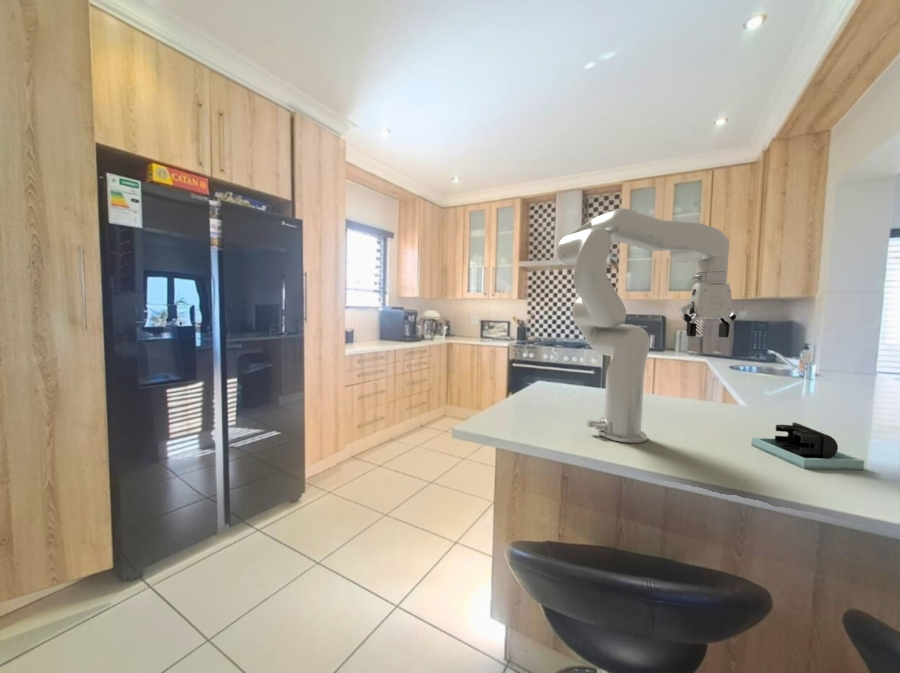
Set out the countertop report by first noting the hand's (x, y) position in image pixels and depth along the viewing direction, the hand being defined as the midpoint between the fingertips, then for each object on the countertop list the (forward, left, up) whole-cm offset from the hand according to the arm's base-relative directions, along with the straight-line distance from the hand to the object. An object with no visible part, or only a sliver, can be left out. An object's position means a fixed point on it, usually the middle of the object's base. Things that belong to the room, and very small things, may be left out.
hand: (707, 336), depth 110 cm
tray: (+11, -21, -28) cm, 37 cm away
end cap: (+11, -21, -28) cm, 37 cm away
